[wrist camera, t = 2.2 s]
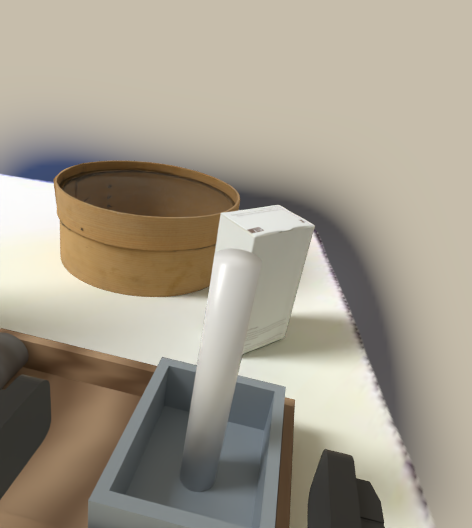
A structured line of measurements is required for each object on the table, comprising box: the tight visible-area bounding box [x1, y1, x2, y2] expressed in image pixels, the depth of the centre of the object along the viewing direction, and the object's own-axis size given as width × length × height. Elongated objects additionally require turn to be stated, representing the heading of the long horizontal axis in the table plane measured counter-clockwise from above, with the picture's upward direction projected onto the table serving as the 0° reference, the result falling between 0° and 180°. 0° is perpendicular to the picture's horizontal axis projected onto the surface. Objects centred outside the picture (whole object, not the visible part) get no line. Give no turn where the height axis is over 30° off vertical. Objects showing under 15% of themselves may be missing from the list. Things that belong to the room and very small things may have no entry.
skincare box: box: [208, 205, 315, 354], centre depth 45 cm, size 8×6×15 cm
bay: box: [0, 328, 295, 528], centre depth 30 cm, size 26×15×5 cm, turn 81°
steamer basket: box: [54, 161, 240, 297], centre depth 60 cm, size 25×25×11 cm
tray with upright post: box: [88, 248, 285, 528], centre depth 26 cm, size 10×12×18 cm
